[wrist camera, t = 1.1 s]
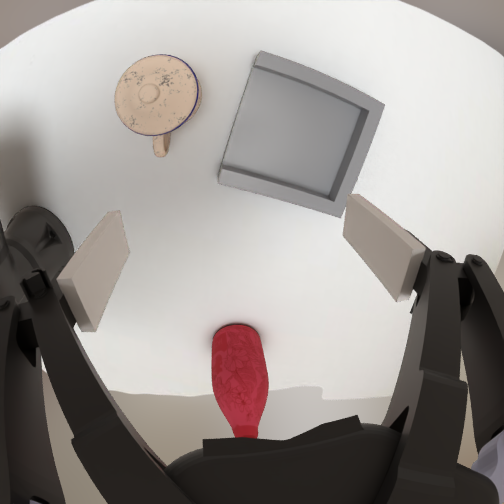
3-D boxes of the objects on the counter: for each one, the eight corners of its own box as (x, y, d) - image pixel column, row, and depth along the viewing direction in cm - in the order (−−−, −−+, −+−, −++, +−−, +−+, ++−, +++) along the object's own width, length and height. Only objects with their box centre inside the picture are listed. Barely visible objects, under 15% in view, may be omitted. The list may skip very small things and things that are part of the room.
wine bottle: (222, 315, 50) (233, 478, 24) (269, 328, 53) (301, 476, 27) (204, 347, 54) (206, 489, 28) (247, 357, 57) (266, 490, 31)
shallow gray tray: (217, 176, 37) (217, 183, 34) (257, 55, 29) (260, 50, 26) (332, 209, 42) (340, 218, 39) (372, 103, 34) (385, 104, 31)
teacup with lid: (137, 68, 28) (105, 56, 18) (205, 63, 29) (198, 45, 19) (137, 151, 34) (106, 171, 24) (202, 148, 35) (194, 167, 25)
